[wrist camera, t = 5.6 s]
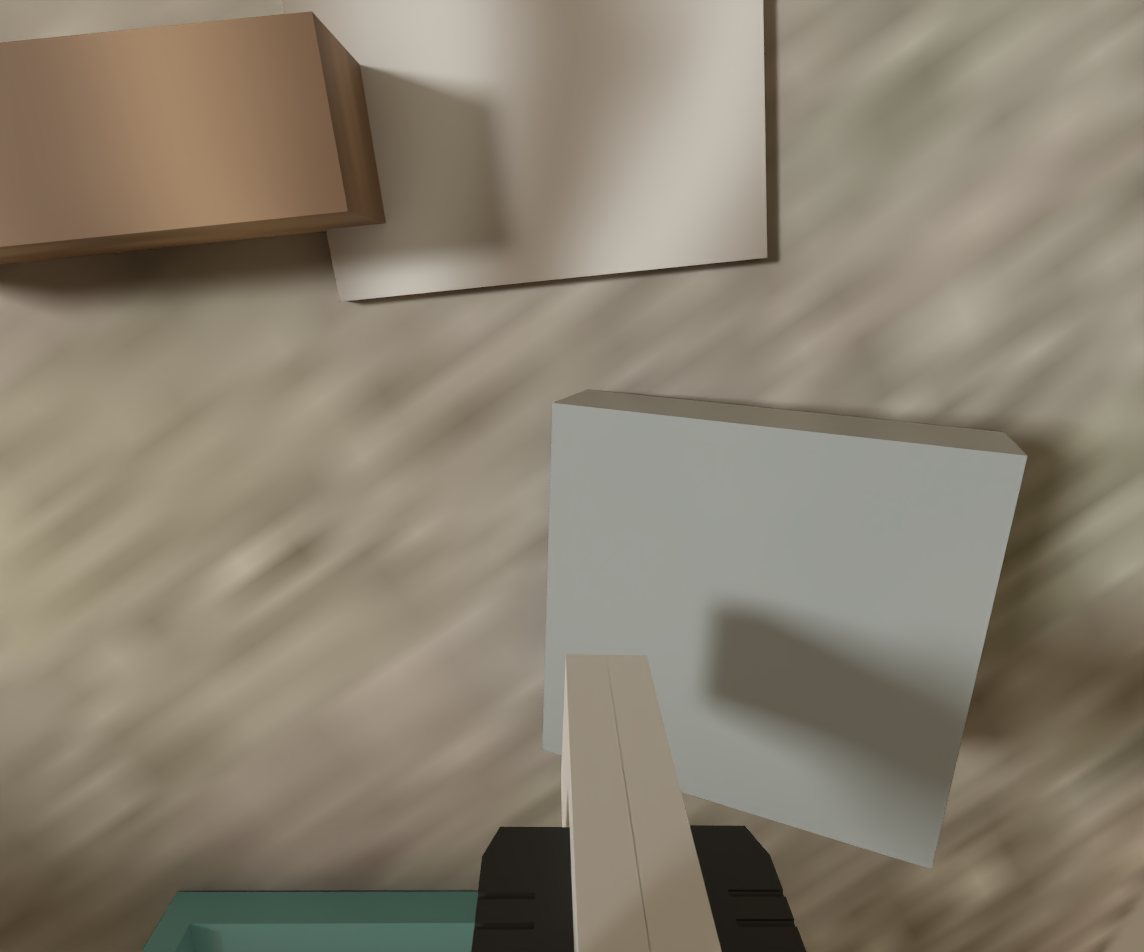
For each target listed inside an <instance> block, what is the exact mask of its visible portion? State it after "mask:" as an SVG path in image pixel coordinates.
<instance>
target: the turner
mask: <svg viewBox="0 0 1144 952" xmlns="http://www.w3.org/2000/svg"><path fill="white" fill-rule="evenodd" d="M282 1H283V7H284V12H285V14H280V15H270V16H260V17H250V18H240V19H230V20H221V21H211V22H201V23H191V24H181V25H171V26H161V27H151V28H141V29H131V30H121V31H111V32H101V33H91V34H81V35H72V36H62V37H52V38H42V39H32V40H22V41H12V42H2V43H0V265H1V264H11V263H21V262H30V261H40V260H50V259H60V258H70V257H79V256H89V255H99V254H109V253H118V252H128V251H138V250H148V249H157V248H167V247H177V246H187V245H196V244H206V243H216V242H226V241H235V240H245V239H255V238H265V237H275V236H284V235H294V234H304V233H314V232H323V231H326V233H327V238H328V244H329V249H330V254H331V259H332V265H333V270H334V275H335V280H336V286H337V291H338V296H339V301H340V302H342V301H352V300H361V299H371V298H381V297H390V296H400V295H410V294H420V293H429V292H439V291H449V290H458V289H468V288H478V287H488V286H497V285H507V284H517V283H526V282H536V281H546V280H555V279H565V278H575V277H585V276H594V275H604V274H614V273H623V272H633V271H643V270H653V269H662V268H672V267H682V266H691V265H701V264H711V263H720V262H730V261H740V260H750V259H759V258H767V209H766V147H765V84H764V22H763V0H282Z"/></svg>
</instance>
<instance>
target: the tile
mask: <svg viewBox="0 0 1144 952" xmlns="http://www.w3.org/2000/svg"><path fill="white" fill-rule="evenodd" d="M1026 460H1027V455H1026V454H1025V453H1024V452H1023V451H1022V450H1021V449H1020V448H1019V446H1018V445H1017V444H1016V443H1015V442H1014V441H1013V440H1012V439H1011V438H1010V437H1009V436H1008V435H1007V434H1006V433H1005V432H999V431H989V430H979V429H969V428H960V427H950V426H940V425H930V424H920V423H911V422H901V421H891V420H881V419H871V418H862V417H852V416H842V415H832V414H822V413H813V412H803V411H793V410H783V409H773V408H764V407H754V406H744V405H734V404H724V403H714V402H705V401H695V400H685V399H675V398H665V397H656V396H646V395H636V394H626V393H616V392H607V391H597V390H585V391H583V392H580V393H577V394H575V395H572V396H569V397H567V398H564V399H561V400H559V401H556V402H554V403H553V406H552V440H551V473H550V507H549V541H548V575H547V609H546V642H545V676H544V710H543V744H542V750H546V751H549V752H552V753H555V754H559V755H562V739H563V713H564V687H565V661H566V654H584V655H646V656H647V659H648V663H649V667H650V671H651V675H652V679H653V683H654V687H655V691H656V695H657V699H658V703H659V707H660V711H661V715H662V719H663V722H664V726H665V730H666V734H667V738H668V742H669V746H670V750H671V754H672V758H673V762H674V766H675V770H676V774H677V778H678V782H679V786H680V789H681V792H682V793H685V794H688V795H692V796H695V797H698V798H701V799H705V800H708V801H711V802H714V803H718V804H721V805H724V806H727V807H731V808H734V809H737V810H740V811H744V812H747V813H750V814H753V815H757V816H760V817H763V818H766V819H770V820H773V821H776V822H779V823H783V824H786V825H789V826H792V827H796V828H799V829H802V830H805V831H809V832H812V833H815V834H818V835H822V836H825V837H828V838H831V839H835V840H838V841H841V842H844V843H847V844H851V845H854V846H857V847H860V848H864V849H867V850H870V851H873V852H877V853H880V854H883V855H886V856H890V857H893V858H896V859H899V860H903V861H906V862H909V863H912V864H916V865H919V866H922V867H925V868H929V869H932V865H933V861H934V857H935V852H936V848H937V844H938V839H939V835H940V831H941V826H942V822H943V818H944V813H945V809H946V805H947V801H948V796H949V792H950V788H951V783H952V779H953V775H954V770H955V766H956V762H957V758H958V753H959V749H960V745H961V740H962V736H963V732H964V727H965V723H966V719H967V714H968V710H969V706H970V702H971V697H972V693H973V689H974V684H975V680H976V676H977V671H978V667H979V663H980V659H981V654H982V650H983V646H984V641H985V637H986V633H987V628H988V624H989V620H990V615H991V611H992V607H993V603H994V598H995V594H996V590H997V585H998V581H999V577H1000V572H1001V568H1002V564H1003V560H1004V555H1005V551H1006V547H1007V542H1008V538H1009V534H1010V529H1011V525H1012V521H1013V516H1014V512H1015V508H1016V504H1017V499H1018V495H1019V491H1020V486H1021V482H1022V478H1023V473H1024V469H1025V465H1026Z"/></svg>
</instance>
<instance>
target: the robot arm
mask: <svg viewBox="0 0 1144 952" xmlns="http://www.w3.org/2000/svg"><path fill="white" fill-rule="evenodd" d="M561 798H562V827H500V828H499V830H498V831H497V833H496V835H495V836H494V838H493V840H492V841H491V843H490V844H489V846H488V848H487V849H486V851H485V853H484V854H483V856H482V863H481V871H480V880H479V889H478V899H477V906H476V915H475V926H474V932H473V941H472V949H471V952H806V950H805V947H804V944H803V942H802V939H801V936H800V934H799V931H798V928H797V927H795V925H794V918H793V915H792V913H791V910H790V907H789V905H788V902H787V899H786V897H784V896H783V889H782V886H781V884H780V881H779V878H778V876H777V873H776V870H775V868H774V865H773V862H772V860H771V857H770V855H769V854H768V852H767V851H766V850H765V849H764V848H763V847H762V846H761V844H760V843H759V842H758V841H757V840H756V839H755V837H754V836H753V835H752V834H751V833H750V832H749V830H748V829H747V828H746V827H745V826H690V825H689V821H688V817H687V813H686V809H685V805H684V801H683V797H682V793H681V789H680V786H679V782H678V778H677V774H676V770H675V766H674V762H673V758H672V754H671V750H670V746H669V742H668V738H667V734H666V730H665V726H664V722H663V719H662V715H661V711H660V707H659V703H658V699H657V695H656V691H655V687H654V683H653V679H652V675H651V671H650V667H649V663H648V659H647V656H646V655H584V654H566V661H565V687H564V713H563V739H562V765H561Z"/></svg>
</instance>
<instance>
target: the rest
mask: <svg viewBox="0 0 1144 952" xmlns="http://www.w3.org/2000/svg"><path fill="white" fill-rule="evenodd" d="M477 899H478V891H440V892H177V893H176V895H175V897H174V898H173V900H172V902H171V903H170V905H169V907H168V908H167V910H166V912H165V913H164V915H163V917H162V918H161V920H160V922H159V923H158V925H157V927H156V928H155V930H154V932H153V933H152V935H151V937H150V938H149V940H148V942H147V943H146V945H145V947H144V948H143V950H142V952H471V949H472V941H473V932H474V926H475V915H476V906H477Z"/></svg>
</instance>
